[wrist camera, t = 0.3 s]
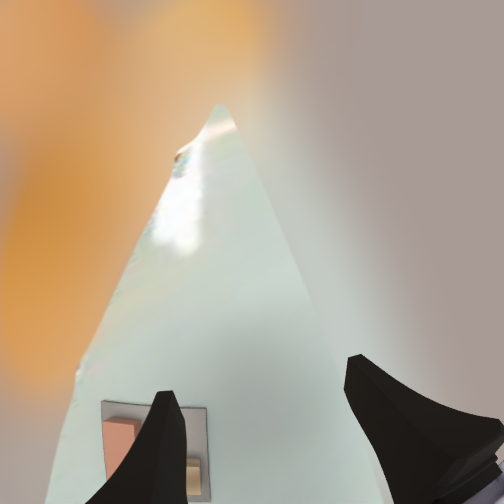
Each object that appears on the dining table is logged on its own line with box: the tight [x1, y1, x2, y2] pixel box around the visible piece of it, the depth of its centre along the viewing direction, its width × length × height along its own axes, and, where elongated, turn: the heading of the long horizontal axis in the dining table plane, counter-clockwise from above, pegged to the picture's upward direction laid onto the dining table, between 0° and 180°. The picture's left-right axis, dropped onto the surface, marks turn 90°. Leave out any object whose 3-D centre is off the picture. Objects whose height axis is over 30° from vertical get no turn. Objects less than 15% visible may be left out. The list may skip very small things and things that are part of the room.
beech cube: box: [186, 458, 201, 495], centre depth 29 cm, size 4×4×4 cm
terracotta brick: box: [102, 417, 141, 479], centre depth 30 cm, size 8×4×4 cm, turn 2°
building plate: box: [101, 401, 210, 502], centre depth 32 cm, size 14×14×1 cm
